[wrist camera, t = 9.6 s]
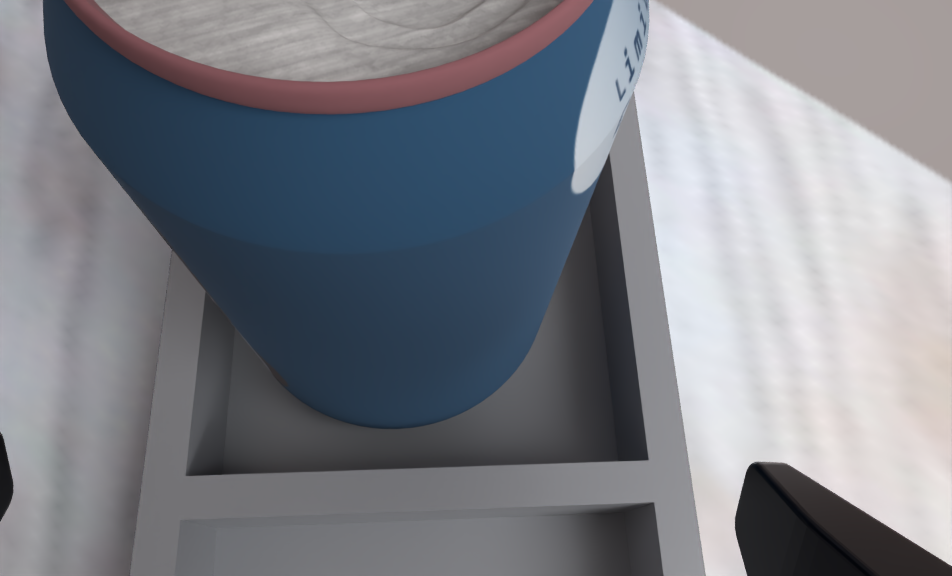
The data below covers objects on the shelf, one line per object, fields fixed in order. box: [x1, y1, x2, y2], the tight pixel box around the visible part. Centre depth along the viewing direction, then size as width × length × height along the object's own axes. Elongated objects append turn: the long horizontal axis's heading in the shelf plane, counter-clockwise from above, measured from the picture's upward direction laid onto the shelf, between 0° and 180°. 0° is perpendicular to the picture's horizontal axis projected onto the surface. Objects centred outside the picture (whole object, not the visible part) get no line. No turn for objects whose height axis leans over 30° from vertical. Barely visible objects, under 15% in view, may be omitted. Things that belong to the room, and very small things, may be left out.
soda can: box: [43, 0, 649, 429], centre depth 12 cm, size 7×7×12 cm
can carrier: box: [130, 91, 706, 576], centre depth 15 cm, size 20×11×3 cm, turn 2°
